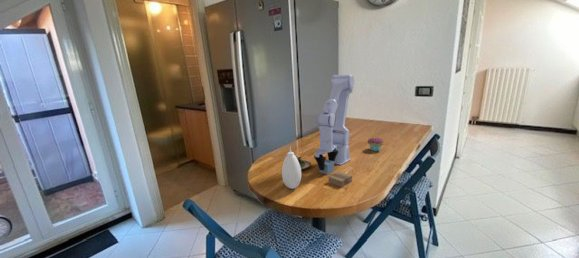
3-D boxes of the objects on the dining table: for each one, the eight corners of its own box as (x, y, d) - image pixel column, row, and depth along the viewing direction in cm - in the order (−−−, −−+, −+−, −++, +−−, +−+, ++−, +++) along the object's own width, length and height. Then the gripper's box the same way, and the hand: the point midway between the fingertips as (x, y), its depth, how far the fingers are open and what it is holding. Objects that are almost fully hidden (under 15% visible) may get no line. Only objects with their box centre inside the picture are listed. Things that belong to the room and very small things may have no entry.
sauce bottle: (287, 182, 109) (284, 142, 104) (304, 184, 106) (302, 144, 102) (279, 190, 102) (277, 148, 97) (298, 193, 99) (296, 150, 95)
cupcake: (367, 151, 141) (368, 131, 138) (367, 147, 149) (367, 127, 146) (384, 152, 139) (385, 131, 136) (382, 147, 147) (383, 127, 144)
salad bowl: (290, 173, 118) (290, 158, 116) (284, 165, 129) (283, 151, 127) (314, 170, 121) (314, 155, 119) (306, 161, 132) (306, 148, 130)
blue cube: (325, 168, 121) (325, 159, 120) (334, 171, 118) (334, 161, 117) (319, 172, 118) (318, 162, 117) (327, 174, 115) (327, 164, 113)
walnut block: (338, 177, 112) (338, 171, 111) (351, 182, 107) (352, 175, 106) (328, 183, 107) (328, 176, 107) (342, 188, 102) (342, 181, 102)
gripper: (328, 134, 122) (328, 161, 125) (309, 141, 112) (309, 170, 115) (340, 137, 117) (340, 164, 120) (321, 144, 107) (322, 174, 110)
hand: (326, 167), depth 117 cm, fingers open, 7 cm apart
